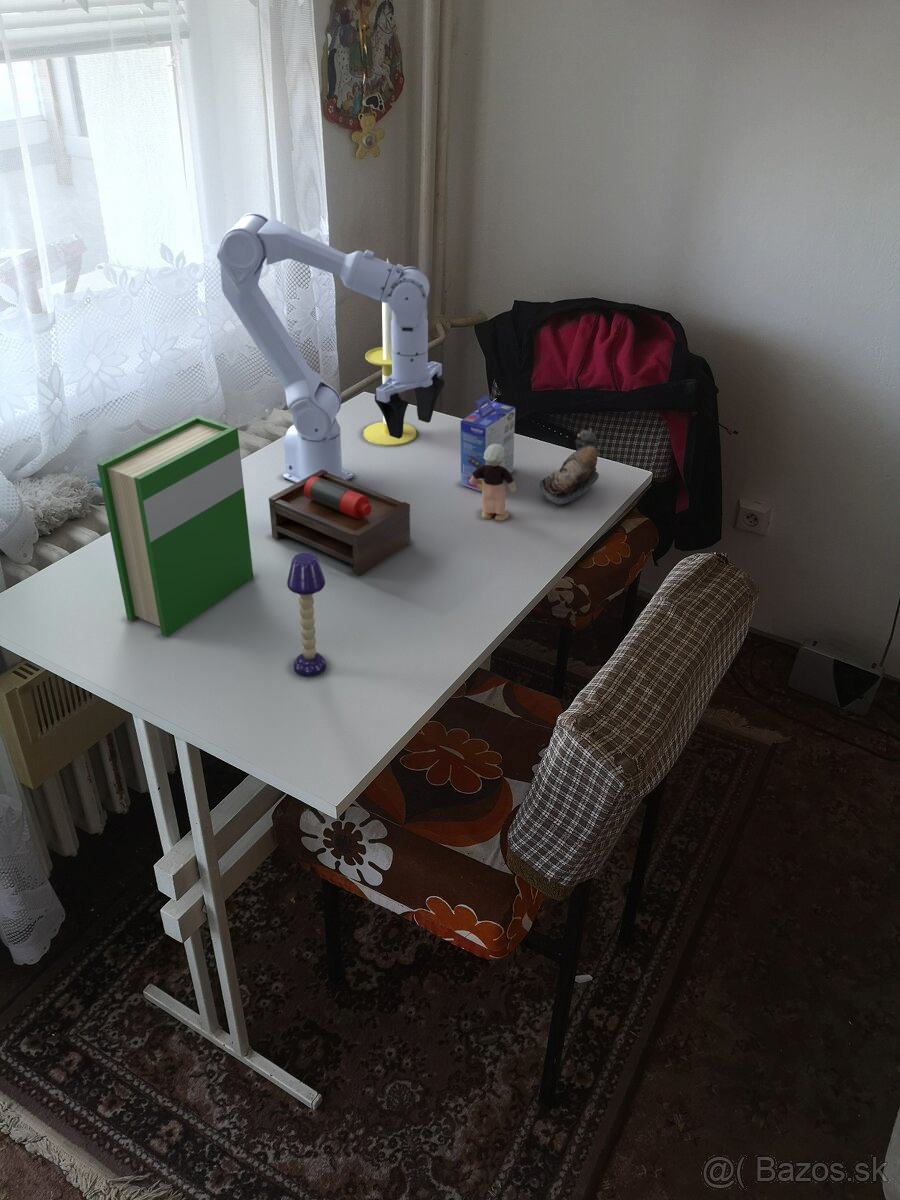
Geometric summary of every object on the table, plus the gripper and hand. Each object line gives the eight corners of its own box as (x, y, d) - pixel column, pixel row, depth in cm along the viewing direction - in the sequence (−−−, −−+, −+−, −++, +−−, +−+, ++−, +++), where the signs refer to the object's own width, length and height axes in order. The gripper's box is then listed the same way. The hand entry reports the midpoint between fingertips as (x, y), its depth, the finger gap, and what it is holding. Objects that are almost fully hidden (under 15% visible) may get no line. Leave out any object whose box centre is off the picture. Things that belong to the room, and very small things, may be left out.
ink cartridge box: (487, 463, 183) (490, 386, 175) (514, 471, 181) (519, 394, 172) (457, 485, 176) (459, 406, 168) (485, 494, 174) (488, 414, 165)
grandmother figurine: (515, 511, 169) (519, 440, 162) (514, 522, 166) (518, 451, 159) (468, 508, 170) (471, 437, 162) (466, 519, 167) (469, 448, 159)
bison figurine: (566, 514, 169) (571, 459, 163) (530, 500, 172) (534, 446, 166) (603, 487, 176) (610, 433, 171) (568, 474, 180) (574, 422, 174)
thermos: (308, 503, 159) (300, 487, 156) (322, 487, 160) (315, 471, 157) (363, 527, 153) (356, 510, 150) (378, 510, 155) (372, 493, 152)
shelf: (272, 537, 161) (268, 497, 157) (324, 507, 169) (322, 469, 165) (359, 576, 152) (358, 535, 148) (410, 543, 160) (410, 503, 156)
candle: (398, 450, 186) (396, 270, 168) (352, 437, 190) (345, 260, 172) (427, 430, 193) (428, 255, 175) (382, 418, 198) (379, 246, 179)
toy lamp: (294, 655, 136) (285, 548, 127) (330, 654, 137) (323, 547, 127) (293, 678, 132) (284, 569, 123) (329, 676, 133) (323, 568, 123)
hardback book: (166, 637, 139) (139, 479, 125) (127, 619, 142) (96, 463, 129) (253, 577, 151) (237, 427, 138) (215, 562, 155) (196, 414, 141)
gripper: (400, 369, 156) (401, 450, 163) (457, 342, 165) (455, 420, 173) (365, 358, 159) (367, 438, 167) (422, 332, 169) (422, 409, 176)
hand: (410, 428), depth 170 cm, fingers open, 7 cm apart
